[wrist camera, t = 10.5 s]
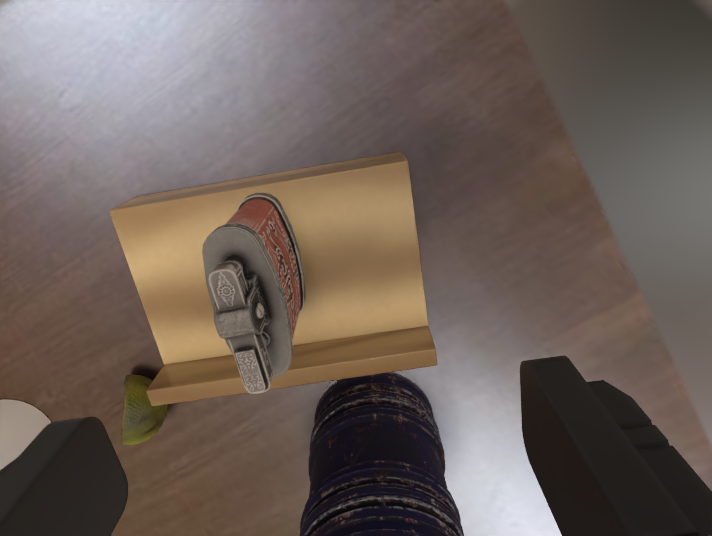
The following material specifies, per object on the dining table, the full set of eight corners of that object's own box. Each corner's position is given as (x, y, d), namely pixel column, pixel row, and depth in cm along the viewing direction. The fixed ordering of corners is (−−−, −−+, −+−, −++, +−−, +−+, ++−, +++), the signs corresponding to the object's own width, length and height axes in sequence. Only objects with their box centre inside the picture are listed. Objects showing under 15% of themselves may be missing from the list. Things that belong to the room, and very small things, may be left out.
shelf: (136, 196, 32) (81, 224, 26) (401, 151, 31) (414, 168, 25) (187, 349, 36) (151, 406, 30) (422, 314, 35) (437, 365, 29)
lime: (143, 421, 39) (114, 467, 34) (108, 376, 37) (73, 417, 33) (190, 402, 38) (167, 446, 33) (156, 354, 37) (127, 394, 32)
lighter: (228, 198, 28) (166, 253, 19) (283, 187, 28) (248, 237, 19) (264, 318, 31) (225, 417, 22) (315, 308, 31) (298, 405, 21)
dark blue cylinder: (361, 486, 41) (365, 691, 27) (288, 412, 39) (250, 597, 25) (457, 430, 39) (515, 620, 25) (388, 347, 36) (409, 509, 22)
